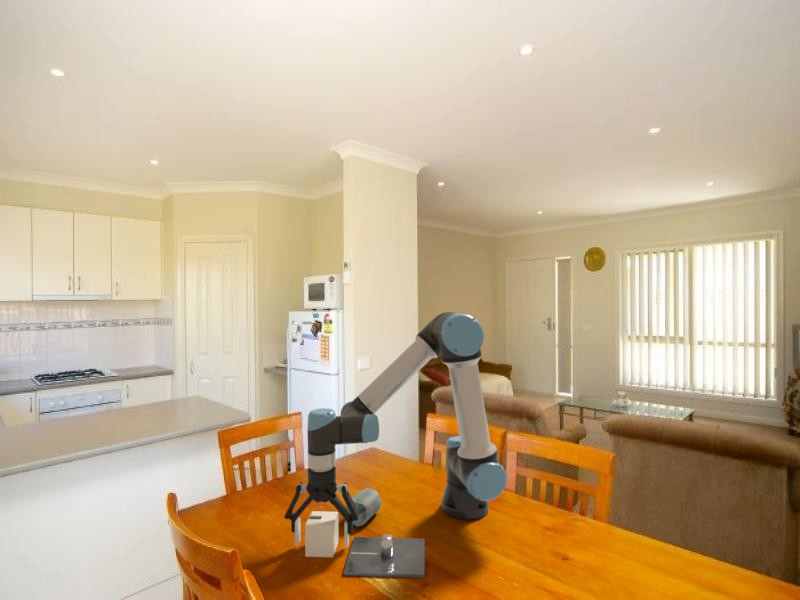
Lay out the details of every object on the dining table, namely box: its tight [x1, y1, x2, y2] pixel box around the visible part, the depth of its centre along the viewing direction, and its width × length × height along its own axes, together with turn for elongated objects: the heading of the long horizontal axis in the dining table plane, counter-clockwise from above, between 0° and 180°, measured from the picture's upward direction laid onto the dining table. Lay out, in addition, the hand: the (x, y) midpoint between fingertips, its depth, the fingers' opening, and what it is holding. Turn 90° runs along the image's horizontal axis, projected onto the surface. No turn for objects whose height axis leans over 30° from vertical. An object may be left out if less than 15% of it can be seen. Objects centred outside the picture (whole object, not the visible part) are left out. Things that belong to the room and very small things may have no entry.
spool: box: [345, 487, 382, 527], centre depth 136 cm, size 14×10×10 cm
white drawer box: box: [304, 510, 339, 558], centre depth 119 cm, size 7×7×9 cm
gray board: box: [343, 533, 426, 579], centre depth 115 cm, size 20×16×5 cm
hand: (322, 544), depth 119 cm, fingers open, 13 cm apart
